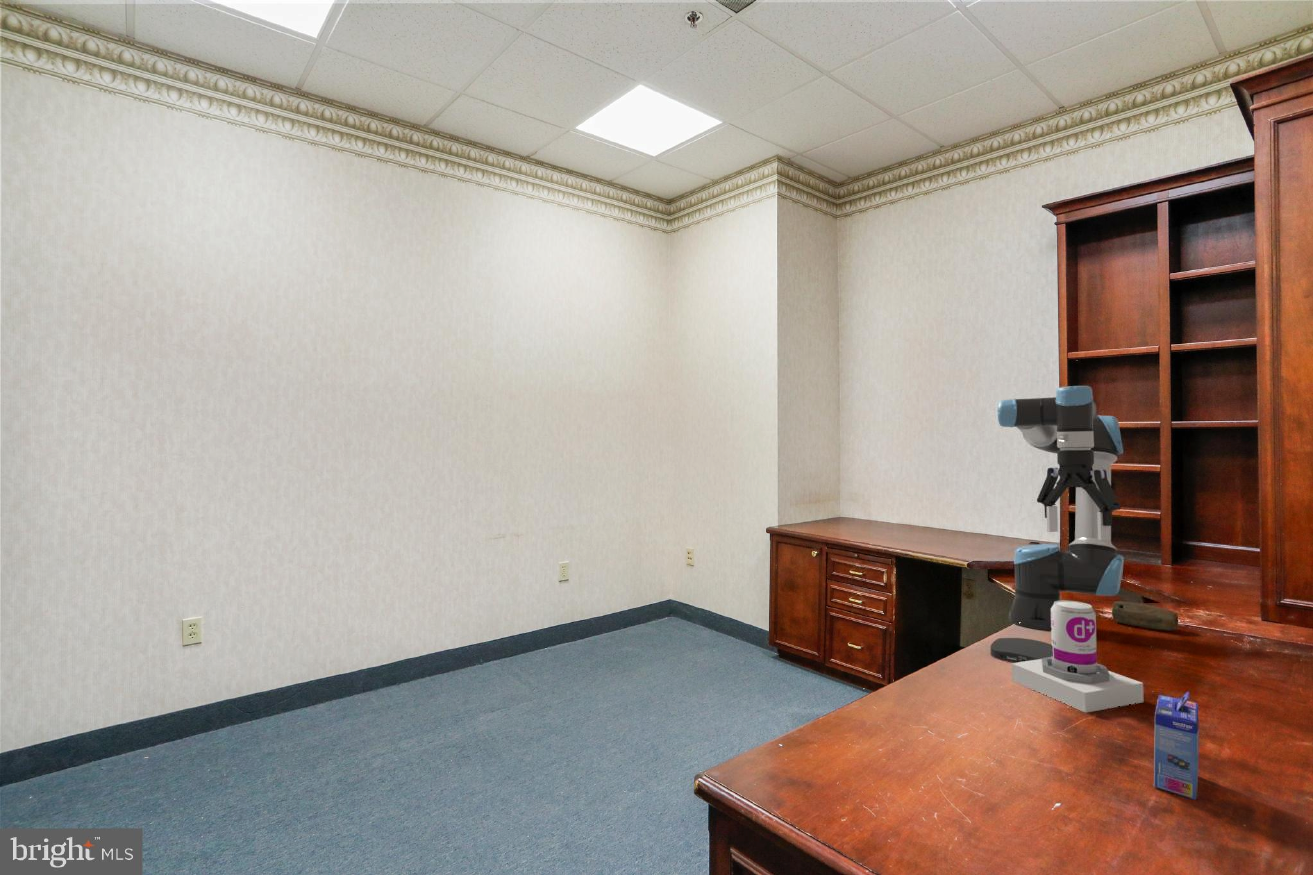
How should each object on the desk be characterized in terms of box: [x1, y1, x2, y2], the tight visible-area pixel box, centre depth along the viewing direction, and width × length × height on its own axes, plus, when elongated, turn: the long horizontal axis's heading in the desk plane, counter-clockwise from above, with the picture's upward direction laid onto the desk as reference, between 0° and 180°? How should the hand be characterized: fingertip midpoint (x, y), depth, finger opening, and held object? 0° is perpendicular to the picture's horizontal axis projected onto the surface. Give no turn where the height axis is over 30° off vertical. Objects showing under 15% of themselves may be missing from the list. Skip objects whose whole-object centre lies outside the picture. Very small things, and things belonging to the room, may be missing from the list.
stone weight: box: [1111, 600, 1179, 632], centre depth 183 cm, size 15×7×7 cm, turn 46°
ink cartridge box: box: [1153, 691, 1200, 800], centre depth 102 cm, size 10×6×14 cm, turn 139°
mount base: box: [1011, 657, 1145, 714], centre depth 138 cm, size 18×16×6 cm
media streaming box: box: [990, 637, 1052, 663], centre depth 161 cm, size 15×15×3 cm
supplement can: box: [1050, 599, 1098, 675], centre depth 139 cm, size 8×8×15 cm
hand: (1077, 535), depth 155 cm, fingers open, 13 cm apart
